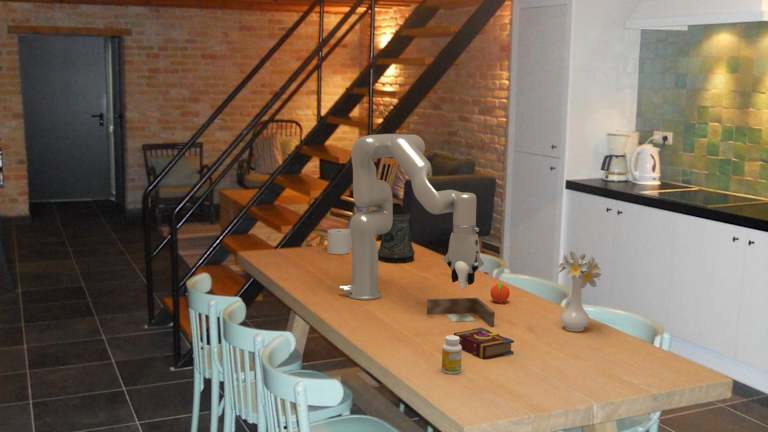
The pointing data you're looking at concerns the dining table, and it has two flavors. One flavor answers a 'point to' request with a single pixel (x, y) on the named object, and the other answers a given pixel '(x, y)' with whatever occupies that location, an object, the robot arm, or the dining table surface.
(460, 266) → the lightbulb
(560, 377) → the dining table surface
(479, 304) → the corner fence
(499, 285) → the clementine
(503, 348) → the decorative book
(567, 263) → the flower vase
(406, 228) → the beer stein
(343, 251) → the toilet tissue
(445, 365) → the supplement bottle
